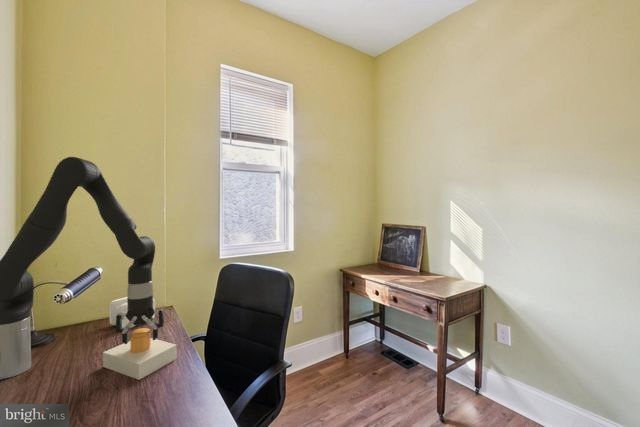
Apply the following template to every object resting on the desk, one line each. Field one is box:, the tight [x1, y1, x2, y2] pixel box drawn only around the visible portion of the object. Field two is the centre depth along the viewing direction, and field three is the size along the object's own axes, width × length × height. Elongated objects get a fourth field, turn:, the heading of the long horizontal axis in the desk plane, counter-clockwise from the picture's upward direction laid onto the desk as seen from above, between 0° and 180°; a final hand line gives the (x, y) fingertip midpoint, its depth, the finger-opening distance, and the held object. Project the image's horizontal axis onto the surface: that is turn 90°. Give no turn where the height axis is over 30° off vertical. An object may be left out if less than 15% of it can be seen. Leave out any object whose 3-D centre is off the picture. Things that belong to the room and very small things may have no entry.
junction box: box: [102, 337, 178, 381], centre depth 103 cm, size 14×18×5 cm
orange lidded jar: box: [129, 327, 152, 353], centre depth 102 cm, size 6×6×6 cm
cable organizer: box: [108, 296, 156, 329], centre depth 136 cm, size 15×11×12 cm
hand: (140, 341), depth 102 cm, fingers open, 8 cm apart
